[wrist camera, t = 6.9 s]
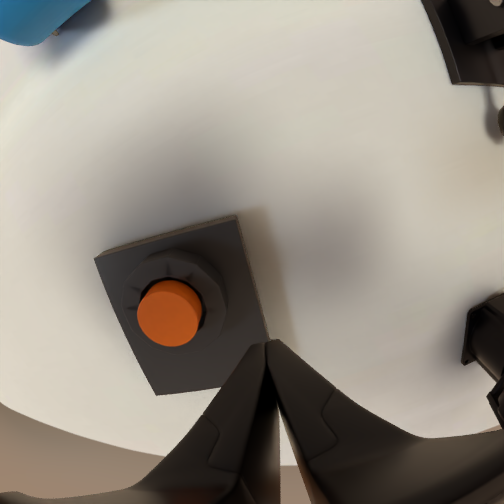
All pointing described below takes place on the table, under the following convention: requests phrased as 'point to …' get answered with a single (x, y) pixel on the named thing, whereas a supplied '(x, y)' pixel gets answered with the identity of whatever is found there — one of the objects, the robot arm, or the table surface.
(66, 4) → the alarm clock
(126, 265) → the button block
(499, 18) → the bracket
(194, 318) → the button
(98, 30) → the table surface
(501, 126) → the lever
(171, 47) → the table surface
